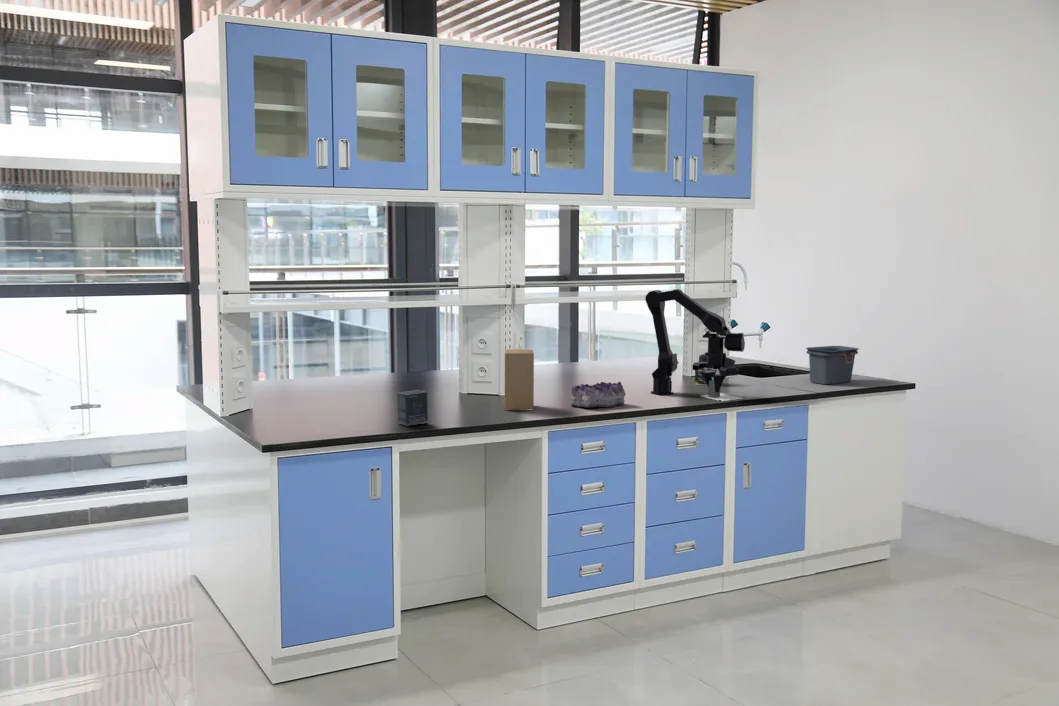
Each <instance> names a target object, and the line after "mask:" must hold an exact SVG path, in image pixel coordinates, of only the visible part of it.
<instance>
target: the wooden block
mask: <svg viewBox="0 0 1059 706" xmlns="http://www.w3.org/2000/svg"><path fill="white" fill-rule="evenodd" d="M534 360H535V355H534V350H533V349H505V350H504V410H505V409H510V410H509V411H513V410H512V409H533V410H534V403H535V402H534V400H535V399H534V396H535V395H534V393H535V392H534V391H535V390H534V389H535V387H534V380H535V378H534V377H535V376H534V375H535V373H534V372H535V369H534V366H535V365H534V364H535V361H534Z"/></svg>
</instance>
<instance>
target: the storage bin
mask: <svg viewBox="0 0 1059 706" xmlns="http://www.w3.org/2000/svg"><path fill="white" fill-rule="evenodd" d="M805 349H806V354H807V355H809V357H808V358H809V359H808V360H809V362H808V363H809V381H810V382H811V383H814V384H819V385H834V384H844V383H849V382H850V383H851V381H852V375H853V371H854V363H855V357H856V355H858V354H859V351H858V350H859V349H860V348H858V347H854V346H853V347H851V346H844V345H826V346H825V345H824V346H811V347H805Z"/></svg>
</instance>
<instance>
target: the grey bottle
mask: <svg viewBox="0 0 1059 706" xmlns="http://www.w3.org/2000/svg"><path fill="white" fill-rule="evenodd" d="M720 393H721V389H720V390H719V392H716V390H715V385H714V378H713V377H712V380H709V388H708V394H707V395H708V396H709V397H720Z"/></svg>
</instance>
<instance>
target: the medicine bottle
mask: <svg viewBox="0 0 1059 706" xmlns="http://www.w3.org/2000/svg"><path fill="white" fill-rule="evenodd" d="M707 357H708V356H706V355H705V353H704V354H700V355H699V356H698V362H707ZM700 372H702V369H699V370H698V371H696V370H694V385H696V386H707V384H706V381H705V379H704V378H703V376H702V374H700ZM715 372H716V371H715ZM716 374H717V372H716ZM707 387H708V386H707Z"/></svg>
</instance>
